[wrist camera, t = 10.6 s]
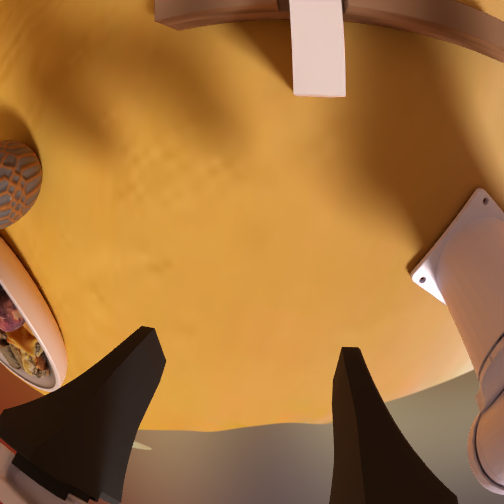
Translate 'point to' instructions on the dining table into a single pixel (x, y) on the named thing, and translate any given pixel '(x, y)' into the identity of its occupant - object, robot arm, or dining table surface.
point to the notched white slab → (318, 48)
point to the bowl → (28, 328)
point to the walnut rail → (354, 18)
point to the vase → (17, 181)
